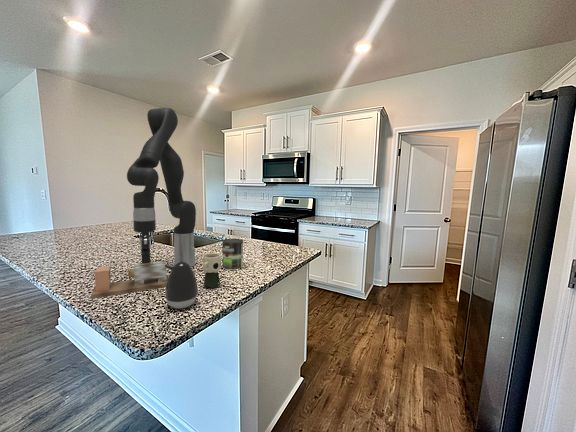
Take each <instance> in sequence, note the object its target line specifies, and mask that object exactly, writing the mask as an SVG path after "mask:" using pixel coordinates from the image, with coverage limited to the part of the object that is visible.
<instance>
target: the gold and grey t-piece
mask: <svg viewBox="0 0 576 432" xmlns="http://www.w3.org/2000/svg"><path fill="white" fill-rule="evenodd" d="M144 250H148V248H144V249H143V251H144ZM149 251H150V253H149V263H151V247H150V248H149ZM140 253H141V264H143V266H146V265H149V263H145V264H144V263H143V254H142V248H141V247H140ZM127 271H128V278H133V277H134V278H135V274H134V268H130V269H129V268H128V270H127Z"/></svg>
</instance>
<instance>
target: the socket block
mask: <svg viewBox="0 0 576 432" xmlns="http://www.w3.org/2000/svg"><path fill="white" fill-rule="evenodd" d="M111 276H112V275H111V265H106V266H105V265H104V266H97V267H96V268H95V271H94V284H95V285H94V288H96V292H100V291H107V290H110V286H111V283H112V278H111Z"/></svg>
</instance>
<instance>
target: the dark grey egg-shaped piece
mask: <svg viewBox="0 0 576 432" xmlns="http://www.w3.org/2000/svg"><path fill="white" fill-rule="evenodd" d="M165 267H166V269H168V270H170V273H169V275H168V281H167V285H166V287H165V295H164V297H165V299H166V301H167V304H168V305H169V306H170V307H171V308H173V309H177V310H178V309H180V310H181V308H182V309H185V308H188V307H190V306H192V305H193V304H194V303H195V301H196V299H197V296H198V294H199V288H198V283H197V282H198V281H197V278H196V275H195V272H194V270H193V268H192V267H190V265H189V264H188V263H186V262H178V263H176V264H174V265H171V264H168V263H166V265H165Z"/></svg>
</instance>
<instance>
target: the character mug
mask: <svg viewBox="0 0 576 432" xmlns="http://www.w3.org/2000/svg"><path fill="white" fill-rule="evenodd" d="M221 262H222V255H221V254H220V253H218V252H209V253H205V254H202V271H203V272H205V274H204V280H203V286H204V287H206V288H211V289H212V288H217V287H219V285H221V283H220V275H219V272H220V271H221V269H222V267H221Z"/></svg>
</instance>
